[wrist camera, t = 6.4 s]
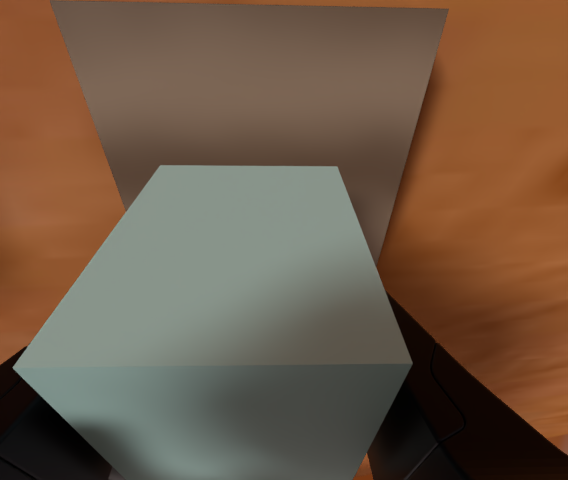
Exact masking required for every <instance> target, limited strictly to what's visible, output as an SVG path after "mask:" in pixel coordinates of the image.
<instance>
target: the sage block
mask: <svg viewBox="0 0 568 480" xmlns="http://www.w3.org/2000/svg"><path fill="white" fill-rule="evenodd" d="M412 364H413V363H412V360H411V357H410V355H409V352H408V350H407V347H406V344H405V342H404V339H403V337H402V334H401V331H400V329H399V326H398V323H397V321H396V318H395V316H394V313H393V310H392V308H391V305H390V303H389V300H388V297H387V295H386V292H385V290H384V287H383V284H382V282H381V279H380V276H379V274H378V271H377V269H376V266H375V263H374V261H373V258H372V256H371V253H370V250H369V248H368V245H367V243H366V240H365V237H364V235H363V232H362V230H361V227H360V224H359V222H358V219H357V216H356V214H355V211H354V209H353V206H352V203H351V201H350V198H349V196H348V193H347V190H346V188H345V185H344V183H343V180H342V177H341V175H340V172H339V169H338V167H337V166H203V165H160V166H159V168H158V169H157V170H156V172H155V173H154V174H153V176H152V177H151V179H150V180H149V181H148V183H147V184H146V185H145V187H144V188H143V190H142V191H141V192H140V194H139V195H138V196H137V198H136V199H135V201H134V202H133V203H132V205H131V206H130V207H129V209H128V210H127V211H126V213H125V214H124V216H123V217H122V218H121V220H120V221H119V222H118V224H117V225H116V227H115V228H114V229H113V231H112V232H111V233H110V235H109V236H108V238H107V239H106V240H105V242H104V243H103V244H102V246H101V247H100V249H99V250H98V251H97V253H96V254H95V255H94V257H93V258H92V259H91V261H90V262H89V264H88V265H87V266H86V268H85V269H84V270H83V272H82V273H81V275H80V276H79V277H78V279H77V280H76V281H75V283H74V284H73V286H72V287H71V288H70V290H69V291H68V292H67V294H66V295H65V296H64V298H63V299H62V301H61V302H60V303H59V305H58V306H57V307H56V309H55V310H54V312H53V313H52V314H51V316H50V317H49V318H48V320H47V321H46V323H45V324H44V325H43V327H42V328H41V329H40V331H39V332H38V333H37V335H36V336H35V338H34V339H33V340H32V342H31V343H30V344H29V346H28V347H27V349H26V350H25V351H24V353H23V354H22V355H21V357H20V358H19V360H18V361H17V362H16V364H15V365H14V366H13V369H14V370H15V371H16V372H17V373H18V374H19V375H20V376H21V377H22V378H23V379H24V380H25V381H26V382H27V383H28V384H29V385H30V386H31V387H32V388H33V389H34V390H35V391H36V392H37V393H38V394H39V395H40V396H41V397H42V398H43V399H44V400H45V401H47V402H48V403H49V404H50V405H51V406H52V407H53V408H54V409H55V410H56V411H57V412H58V413H59V414H60V415H61V416H62V417H63V418H64V419H65V420H66V421H67V422H68V423H69V424H70V425H71V426H72V427H73V428H74V429H75V430H76V431H77V432H78V433H79V434H80V435H81V436H82V437H83V438H84V439H85V440H86V441H87V442H88V443H89V444H90V445H91V446H92V447H93V448H94V449H95V450H96V451H97V452H98V453H99V454H100V455H101V456H102V457H103V458H104V459H105V460H106V461H108V462H109V463H110V464H111V465H112V466H113V467H114V468H115V469H116V470H117V471H118V472H119V473H120V474H121V475H122V476H123V477H124V478H125V479H126V480H353V478H354V476H355V474H356V472H357V470H358V468H359V466H360V464H361V463H362V461H363V459H364V457H365V455H366V453H367V451H368V449H369V447H370V445H371V443H372V441H373V439H374V437H375V436H376V434H377V432H378V430H379V428H380V426H381V424H382V422H383V420H384V418H385V416H386V414H387V412H388V410H389V409H390V407H391V405H392V403H393V401H394V399H395V397H396V395H397V393H398V391H399V389H400V387H401V385H402V383H403V382H404V380H405V378H406V376H407V374H408V372H409V370H410V368H411V366H412Z"/></svg>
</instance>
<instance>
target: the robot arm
mask: <svg viewBox="0 0 568 480" xmlns="http://www.w3.org/2000/svg"><path fill="white" fill-rule="evenodd" d="M385 292H386V291H385ZM386 295H387V297H388V300H389V303H390V305H391V308H392V310H393V313H394V316H395V318H396V321H397V323H398V326H399V329H400V331H401V334H402V337H403V339H404V342H405V344H406V347H407V350H408V352H409V355H410V357H411V360H412V363H413V364H412V366H411V368H410V370H409V372H408V374H407V376H406V378H405V380H404V382H403V383H402V385H401V387H400V389H399V391H398V393H397V395H396V397H395V399H394V401H393V403H392V405H391V407H390V409H389V410H388V412H387V414H386V416H385V418H384V420H383V422H382V424H381V426H380V428H379V430H378V432H377V434H376V436H375V437H374V439H373V441H372V443H371V445H370V447H369V449H368V451H367V454H368V458H369V462H370V467H371V471H372V475H373V479H374V480H568V455H567V454H565V453H564V452H562V451H561V450H560V449H558V448H557V447H556V446H555V445H553V444H552V443H551V442H550V441H548V440H547V439H546V438H545V437H544V436H543V435H541V434H540V433H539V432H538V431H537V430H535V429H534V428H533V427H532V426H531V425H530V424H528V423H527V422H526V421H525V420H524V419H522V418H521V417H520V416H519V415H518V414H517V413H515V412H514V411H513V410H512V409H511V408H510V407H508V406H507V405H506V404H505V403H504V402H502V401H501V400H500V399H499V398H498V397H497V396H495V395H494V394H493V393H492V392H491V391H489V390H488V389H487V388H486V387H485V386H484V385H483V384H482V383H480V382H479V381H478V380H477V379H476V378H475V377H474V376H472V375H471V374H470V373H469V372H468V371H467V370H466V369H465V368H464V367H463V366H462V365H461V364H459V363H458V362H457V361H456V360H455V359H454V358H453V357H452V356H451V355H450V354H449V353H448V352H447V351H446V350H445V349H444V348H443V347H442V346H441V345H440V344H439V343H435V342H436V341H435V339H434V338H433V337H432V336H431V335H430V334H429V333H428V332H427V331H426V330H425V329H424V328H423V327H422V326H421V325H420V324H419V323H418V322H417V321H416V320H415V319H414V318H413V317H412V316H411V315H410V314H409V313H408V312H407V311H406V310H405V309H403V308H402V307H401V306H400V305H399V304H398V303H397V302H396V301H395V300H394V299H393V298H392V297H391V296H390V295H389V294H388V293H387V292H386ZM28 346H29V345H28ZM28 346H26V347H24V348H23V349H21V350H20V351H19V352H17V353H16V354H15V355H13V356H12V357H11V358H9V359H8V360H7V361H5V362H4V363H2V364H1V365H0V480H126V479H125V478H124V477H123V476H122V475H121V474H120V473H119V472H118V471H117V470H116V469H115V468H114V467H113V466H112V465H111V464H110V463H109V462H108V461H106V460H105V459H104V458H103V457H102V456H101V455H100V454H99V453H98V452H97V451H96V450H95V449H94V448H93V447H92V446H91V445H90V444H89V443H88V442H87V441H86V440H85V439H84V438H83V437H82V436H81V435H80V434H79V433H78V432H77V431H76V430H75V429H74V428H73V427H72V426H71V425H70V424H69V423H68V422H67V421H66V420H65V419H64V418H63V417H62V416H61V415H60V414H59V413H58V412H57V411H56V410H55V409H54V408H53V407H52V406H51V405H50V404H49V403H48V402H47V401H45V400H44V399H43V398H42V397H41V396H40V395H39V394H38V393H37V392H36V391H35V390H34V389H33V388H32V387H31V386H30V385H29V384H28V383H27V382H26V381H25V380H24V379H23V378H22V377H21V376H20V375H19V374H18V373H17V372H16V371H15V370H14V369H13V366H14V365H15V364H16V362H17V361H18V360H19V358H20V357H21V355H22V354H23V353H24V351H25V350H26V349H27V347H28Z"/></svg>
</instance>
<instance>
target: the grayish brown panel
mask: <svg viewBox="0 0 568 480" xmlns="http://www.w3.org/2000/svg"><path fill="white" fill-rule="evenodd" d="M50 3H51V6H52V8H53V11H54V14H55V17H56V19H57V22H58V25H59V28H60V31H61V33H62V36H63V39H64V42H65V44H66V47H67V50H68V53H69V55H70V58H71V61H72V64H73V66H74V69H75V72H76V75H77V77H78V80H79V83H80V86H81V88H82V91H83V94H84V97H85V100H86V102H87V105H88V108H89V111H90V113H91V116H92V119H93V122H94V124H95V127H96V130H97V133H98V135H99V138H100V141H101V144H102V146H103V149H104V152H105V155H106V157H107V160H108V163H109V166H110V169H111V171H112V174H113V177H114V180H115V182H116V185H117V188H118V191H119V193H120V196H121V199H122V202H123V204H124V207H125V210H126V211H127V210H128V209H129V207H130V206H131V205H132V203H133V202H134V201H135V199H136V198H137V196H138V195H139V194H140V192H141V191H142V190H143V188H144V187H145V185H146V184H147V183H148V181H149V180H150V179H151V177H152V176H153V174H154V173H155V172H156V170H157V169H158V168H159V166H160V165H203V166H337V167H338V169H339V172H340V175H341V177H342V180H343V183H344V185H345V188H346V190H347V193H348V196H349V198H350V201H351V203H352V206H353V209H354V211H355V214H356V216H357V219H358V222H359V224H360V227H361V230H362V232H363V235H364V237H365V240H366V243H367V245H368V248H369V250H370V253H371V256H372V258H373V261H374V263H375V266H377V263H378V259H379V256H380V252H381V249H382V245H383V241H384V238H385V234H386V231H387V227H388V224H389V220H390V217H391V213H392V209H393V206H394V202H395V199H396V195H397V192H398V188H399V184H400V181H401V177H402V174H403V170H404V167H405V163H406V160H407V156H408V152H409V149H410V145H411V142H412V138H413V135H414V131H415V128H416V124H417V120H418V117H419V113H420V110H421V106H422V103H423V99H424V95H425V92H426V88H427V85H428V81H429V78H430V74H431V71H432V67H433V63H434V60H435V56H436V53H437V49H438V46H439V42H440V39H441V35H442V31H443V28H444V24H445V21H446V17H447V14H448V10H449V9H432V8H387V7H340V6H293V5H246V4H199V3H151V2H104V1H55V0H50Z"/></svg>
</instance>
